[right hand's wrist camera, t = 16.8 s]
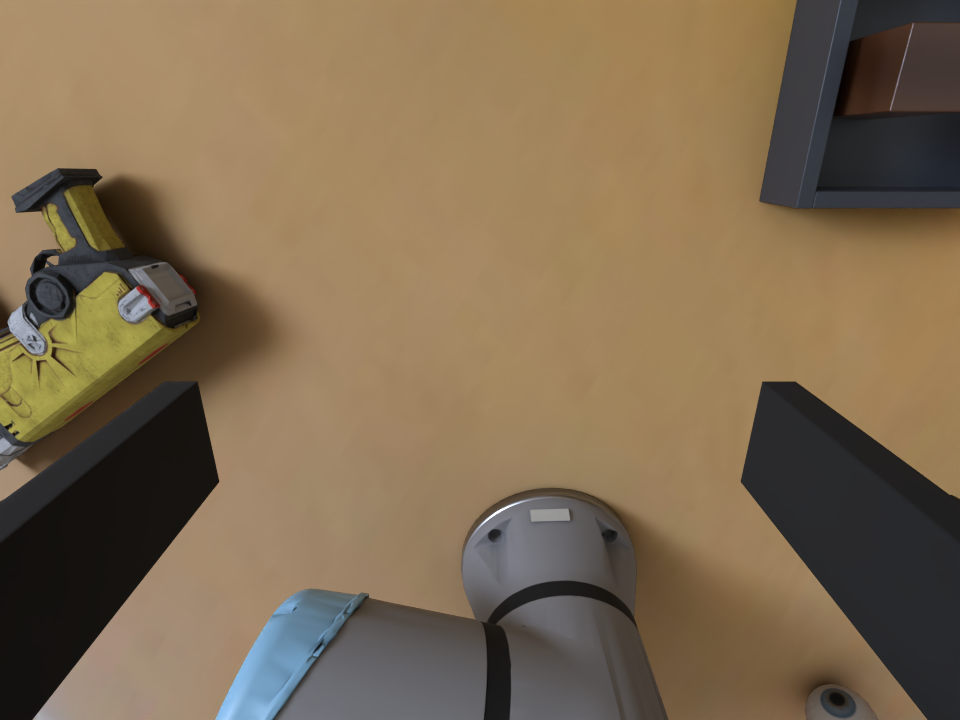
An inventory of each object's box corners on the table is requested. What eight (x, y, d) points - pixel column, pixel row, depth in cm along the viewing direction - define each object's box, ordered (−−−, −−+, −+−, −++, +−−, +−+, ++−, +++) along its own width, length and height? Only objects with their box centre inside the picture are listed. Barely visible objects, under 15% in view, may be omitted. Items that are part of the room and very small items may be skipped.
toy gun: (-207, 333, 36) (-39, 494, 40) (1, 114, 30) (179, 326, 34) (-126, 316, 41) (19, 462, 44) (68, 123, 35) (220, 309, 38)
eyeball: (848, 661, 52) (892, 722, 47) (856, 702, 55) (899, 765, 49) (787, 677, 53) (824, 739, 48) (797, 716, 55) (833, 780, 50)
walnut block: (873, 119, 34) (966, 112, 27) (810, 119, 34) (889, 111, 27) (891, 47, 32) (995, 22, 26) (826, 47, 32) (913, 21, 26)
